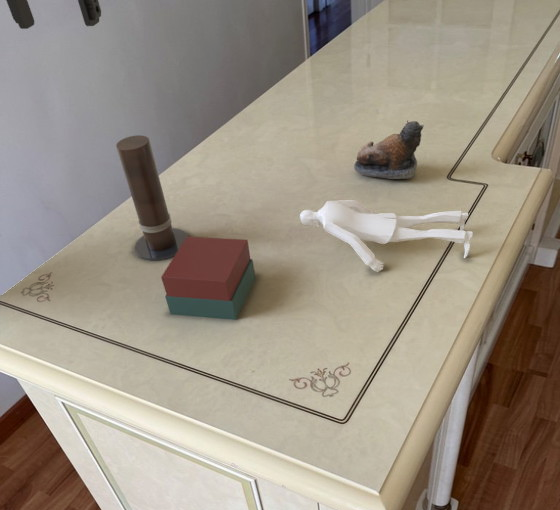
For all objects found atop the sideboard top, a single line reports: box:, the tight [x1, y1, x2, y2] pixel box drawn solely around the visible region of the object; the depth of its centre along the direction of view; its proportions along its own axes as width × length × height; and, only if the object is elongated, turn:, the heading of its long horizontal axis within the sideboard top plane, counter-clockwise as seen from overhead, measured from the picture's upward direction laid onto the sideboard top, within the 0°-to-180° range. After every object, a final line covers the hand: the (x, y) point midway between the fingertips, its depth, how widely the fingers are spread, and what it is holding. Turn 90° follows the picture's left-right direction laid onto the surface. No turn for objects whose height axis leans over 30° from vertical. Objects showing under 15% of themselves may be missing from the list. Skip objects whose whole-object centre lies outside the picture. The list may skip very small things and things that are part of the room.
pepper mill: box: [115, 134, 176, 251], centre depth 91 cm, size 15×5×15 cm
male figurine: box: [299, 199, 473, 273], centre depth 88 cm, size 14×6×25 cm
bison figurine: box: [353, 120, 425, 180], centre depth 103 cm, size 12×7×10 cm, turn 63°
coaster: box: [134, 227, 189, 262], centre depth 97 cm, size 9×9×1 cm
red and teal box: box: [160, 236, 256, 321], centre depth 84 cm, size 10×10×7 cm
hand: (60, 25), depth 67 cm, fingers open, 8 cm apart
